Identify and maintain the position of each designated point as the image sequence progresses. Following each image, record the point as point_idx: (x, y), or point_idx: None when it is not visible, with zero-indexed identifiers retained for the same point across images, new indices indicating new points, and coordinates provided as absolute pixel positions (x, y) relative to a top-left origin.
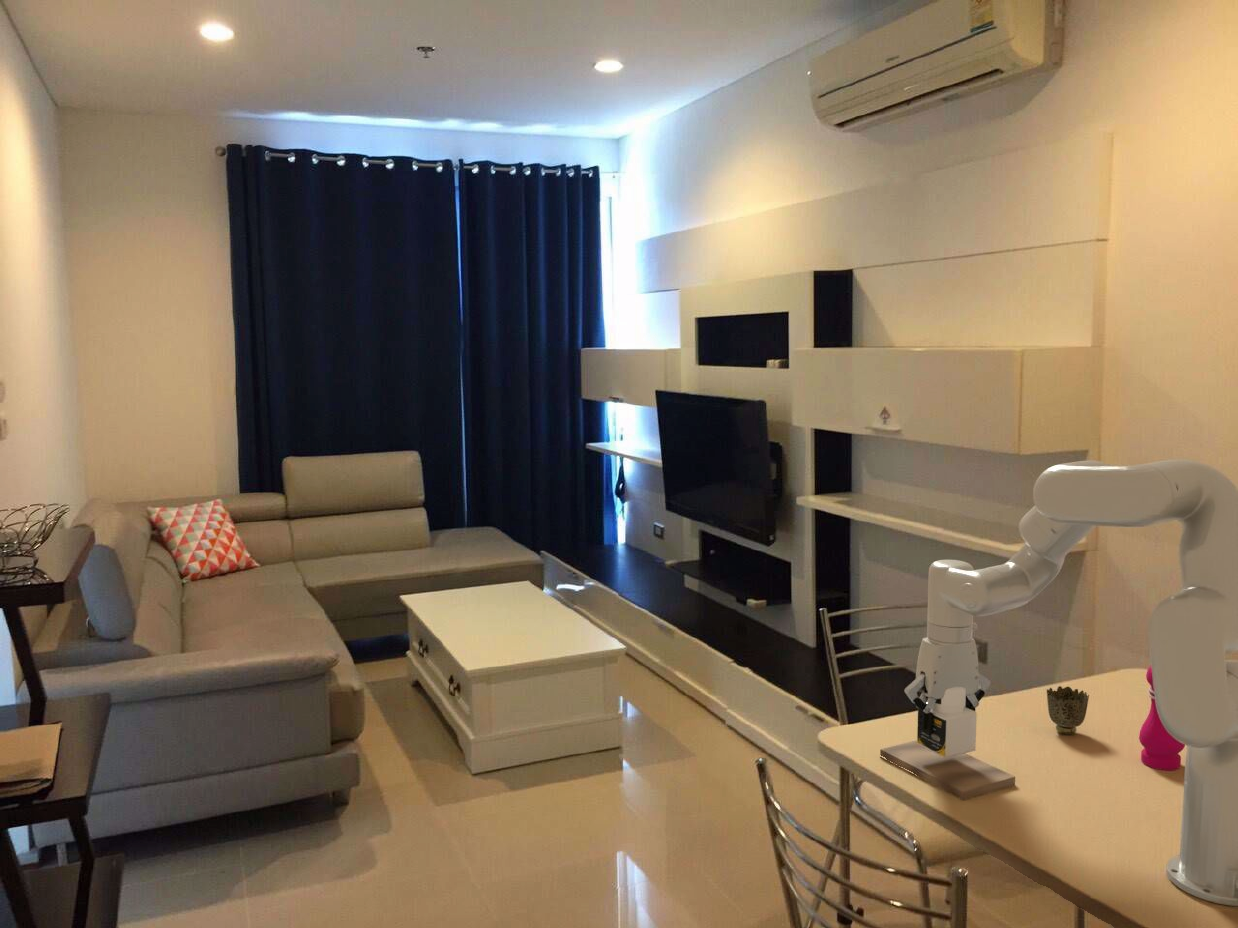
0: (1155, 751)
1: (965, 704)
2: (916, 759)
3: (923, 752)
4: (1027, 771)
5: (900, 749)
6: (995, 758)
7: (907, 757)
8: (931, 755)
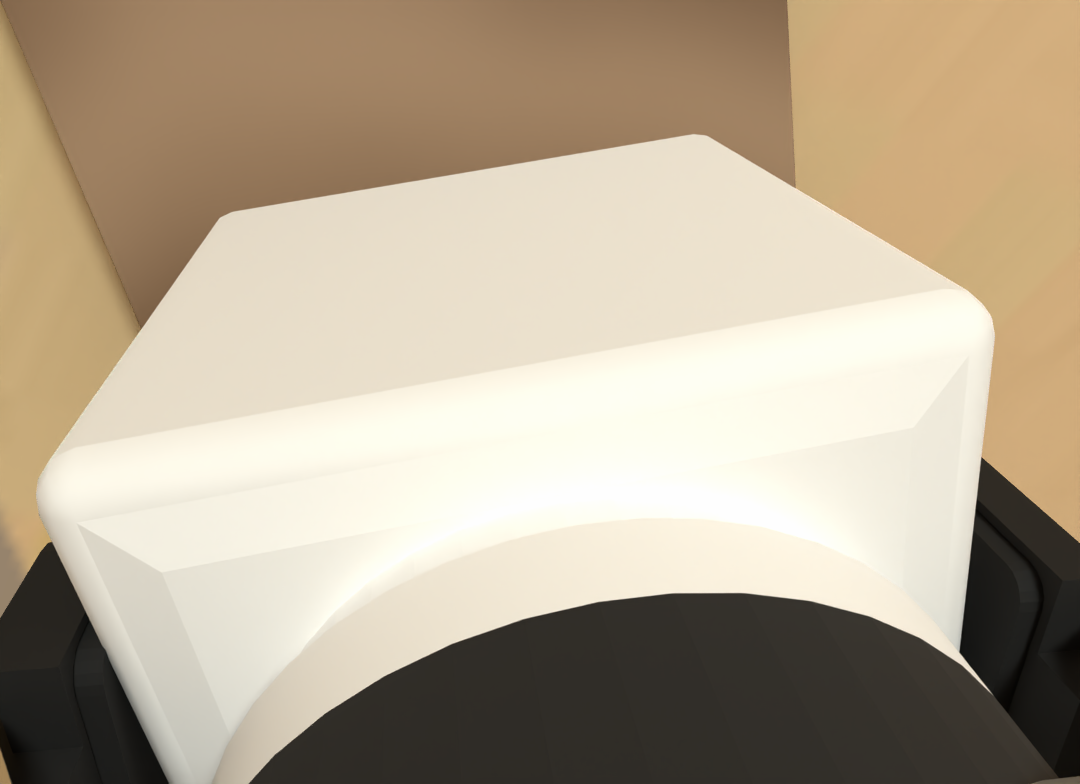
0: None
1: (1021, 689)
2: (240, 187)
3: (407, 40)
4: (1032, 456)
5: None
6: (1034, 195)
7: (162, 110)
8: (450, 139)
